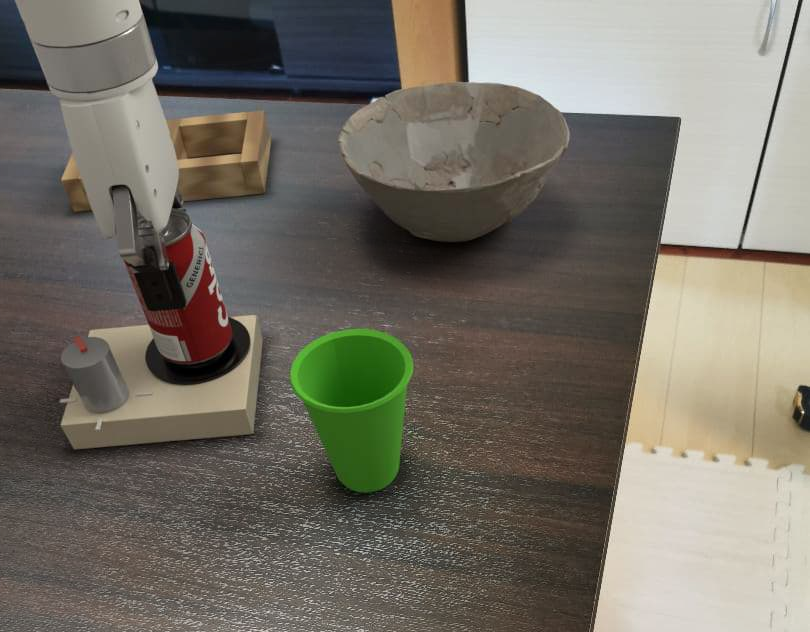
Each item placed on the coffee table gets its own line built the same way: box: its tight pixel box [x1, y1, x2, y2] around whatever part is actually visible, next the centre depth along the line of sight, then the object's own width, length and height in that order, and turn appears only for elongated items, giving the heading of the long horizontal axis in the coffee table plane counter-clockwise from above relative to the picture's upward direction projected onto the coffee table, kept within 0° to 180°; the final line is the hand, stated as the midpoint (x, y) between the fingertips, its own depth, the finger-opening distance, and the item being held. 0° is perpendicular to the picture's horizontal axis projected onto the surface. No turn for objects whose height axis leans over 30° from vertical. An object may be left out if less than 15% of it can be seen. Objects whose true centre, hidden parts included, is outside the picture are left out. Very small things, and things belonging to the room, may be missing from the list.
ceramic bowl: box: [337, 81, 571, 243], centre depth 88 cm, size 22×23×10 cm
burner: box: [145, 316, 251, 385], centre depth 76 cm, size 10×10×1 cm
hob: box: [59, 314, 264, 450], centre depth 76 cm, size 17×14×3 cm
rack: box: [60, 109, 272, 213], centre depth 101 cm, size 23×12×4 cm, turn 92°
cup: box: [289, 328, 414, 494], centre depth 65 cm, size 9×9×11 cm
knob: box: [60, 335, 129, 413], centre depth 71 cm, size 4×4×5 cm
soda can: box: [122, 208, 232, 365], centre depth 71 cm, size 7×7×12 cm
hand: (173, 279), depth 71 cm, fingers closed on soda can, 6 cm apart
